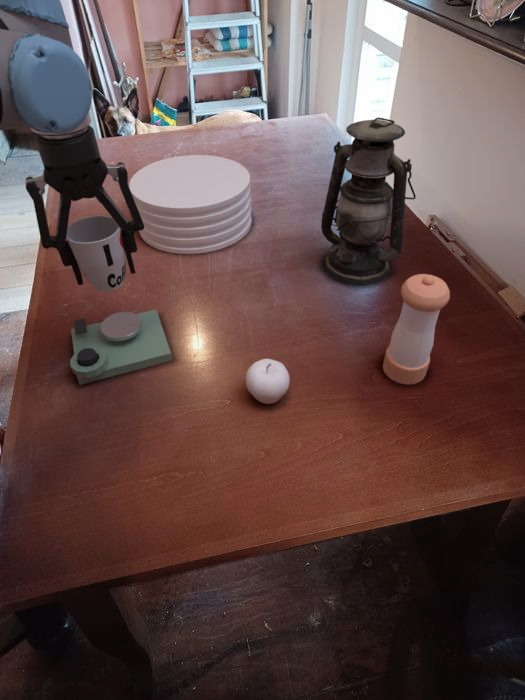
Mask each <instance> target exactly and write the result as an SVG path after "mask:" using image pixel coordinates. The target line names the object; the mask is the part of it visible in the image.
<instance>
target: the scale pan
mask: <svg viewBox="0 0 525 700" xmlns="http://www.w3.org/2000/svg"><path fill="white" fill-rule="evenodd" d="M137 314H138V313H134V312H131V311H119V312H114V313H112V314H110V315H109V316H107V317H105V319H103V321H101V322H102V324H101V327H100V328H101V332H102V335H103V336H104V337H105V338H106V339H108V340H111V341H123V340H127V339H130V338H132V337H134V336H135V335H137V334H138V333H139V332H140V330H141V328H142V322H141V318H140V317H139V316H138V315H137ZM86 326H87V322H86V318H85V317H82V318H79V319H74V320H73V327H74V329H75V334H76V335H78V334H82V333H86V332H87V327H86Z"/></svg>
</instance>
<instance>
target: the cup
mask: <svg viewBox="0 0 525 700" xmlns="http://www.w3.org/2000/svg"><path fill="white" fill-rule="evenodd" d="M121 230H122V229H121V228H120V226H119V225H118V224H117V223H116V221H115V220H114V219H113V218H112V216H109V215H92V216H91V215H90V216H87V217H83V218H80V219H78V220H75V221H73V222H72V223H71V224H68V227H67V235H66V241H68V243H69V246H70V248H71V250H72V252H73V255H74V257H75V260H76V261H77V263H78V266H79V268H80V271H81V273H82V275H84V277H85V279H86V280H87V281H88V282H89V284H91V286H92V287H93V289H95V290H96V291H97V292H100V293H109V292H114V291H116V290H119V289H120V288H122V286H123V285H124V284H125V279H126V270H127V269H126V268H127V266H126V253H125V249H124V244H123V240H122V233H121Z"/></svg>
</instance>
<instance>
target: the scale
mask: <svg viewBox="0 0 525 700" xmlns="http://www.w3.org/2000/svg"><path fill="white" fill-rule="evenodd" d="M136 314H137V315H138V316H139V317H140V318H141V322H142V328H141V330H140V332H139V333H138V334H137V335H135V336H134V337H132V338H130V339H127V340H123V341H111V340H108V339H106V338H105V337H104V336H103V335H102V332H101V328H100V327H101V324H102V322H103V321H101V322H96V323H92V324H88V325H86V327H87V332H86V333H82V334H78V335H76V334H75V328H71V330H70V332H71V339H72V340H71V341H72V348H73V349H72V350H73V355H72V357H71V358H70V360H69V364H70V365H69V366H70V369H71V371H72V373H73V375H75V376H76V379H77V381H78V384H79V385H80V386H82V385H85V384H89V383H92V382H96V381H100V380H105V379H107V378H111V377H116V376H119V375H123V374H127V373H131V372H134V371H139V370H142V369H146V368H149V367H154V366H158V365H161V364H165V363H169V362H172V361H173V356H172V351H171V349H170V346H169V343H168V339H167V336H166V334H165V330H164V328H163V325H162V322H161V318H160V316H159V313H158V310H157V309H152V310H148V311H143V312H139V313H136ZM85 348H92V349H94V350H95V351H96V354H97V357H98V360H97V362H96V363H95V364H94V365H92V366H88V367H84V366H82V365H81V364H80V363H79V360H78V358H77V355H78V353H79V352H80V351H81V350H83V349H85Z"/></svg>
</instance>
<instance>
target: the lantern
mask: <svg viewBox="0 0 525 700" xmlns="http://www.w3.org/2000/svg"><path fill="white" fill-rule="evenodd" d="M345 131H346V133H347V134H348V136H350V137H352V138H354V139H353V140H352V142H351V143H349V144H343V145H341V141H337V142H336V144H335V145H334V146H333V152H334V154H335V155H334V159H333V164H332V169H331V174H330V179H329V183H328V188H327V193H326V197H325V203H324V207H323V211H322V213H321V222H320V223H321V224H320V228H321V232H322V235H323V236H324V238H325V239H326V240H327V241H328V242H329V243H331V244H332V245H331V246H330V247H329V249H328V253H327V254H326V256H325V258H324V260H323V262H322V265H323V270H324V272H325V274H327V276H329V278H331V279H333V280H334V281H337V282H338V283H341V284H345V285H348V286H355V287H356V286H357V287H358V286H359V287H363V286H371V285H374V284H375V285H376V284H378V283H380V282H382V281H384V280H385V279H386V278H387V277H388V276H389V273H390V271H391V270H390V264H389V263H390V262H394V261H396V260H397V259H398V258H399V257H400V255H401V253H402V245H403V233H404V222H405V221H404V220H405V219H404V218H405V206H406V200H416V198H417V197H416V193H415V190H414V188H413V186H412V185H413V184H412V183H411V178H412V176H413V175H412V171H411V170H412V166H413V164H411V158H408V159H407V161H404V160H403V159H401V158H400V157H399V156H397V155H396V154H395V146H396V145H395V143H394V141H397V140H399V139H401V138H403V137H404V136H405V134H406V131H405V129H404V128H403V127H402V126H401V125H398V124H397V123H396V122H395V121H394V120H392V119H389V118H384V117H376V118H374V119H364V120H360V121H356V122H353V123H351V124H349V125H347V127H346V129H345ZM345 171H346V172H347V173H349V174H350V175H351V177H350V179H348V180H346V181H345V182H344V183H343V180H344V175H345ZM408 174H409V176H408ZM391 175H393V185H392V186H391V185H390V184H389V183H388V182H387V181H386V179H387V177H390V176H391ZM407 183H408V185H409V188H410V190H411V193H412V195H413V197H409V196H406V194H407ZM333 222H334V223H335V224H333ZM332 226H333V227H336V232H338V234H336V233H335V232H334V231H333V229H332ZM389 226H390V234H389V235H386V232H387V230H388V229H389ZM386 239H389V249H387V250H386V249H385V248H384V247H383V246H382V245H381V244H379V243H380V242H384V241H385V240H386Z"/></svg>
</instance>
